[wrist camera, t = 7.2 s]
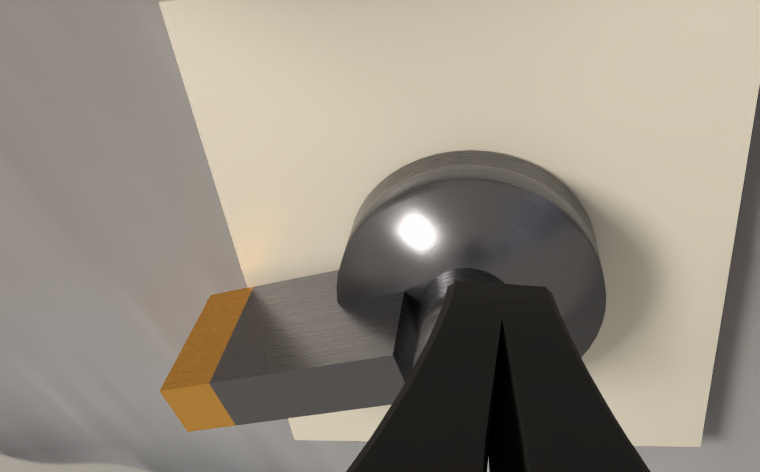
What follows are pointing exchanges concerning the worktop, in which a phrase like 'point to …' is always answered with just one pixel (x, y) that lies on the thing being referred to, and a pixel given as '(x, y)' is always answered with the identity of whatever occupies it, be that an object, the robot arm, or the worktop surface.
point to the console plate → (495, 150)
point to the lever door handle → (389, 293)
